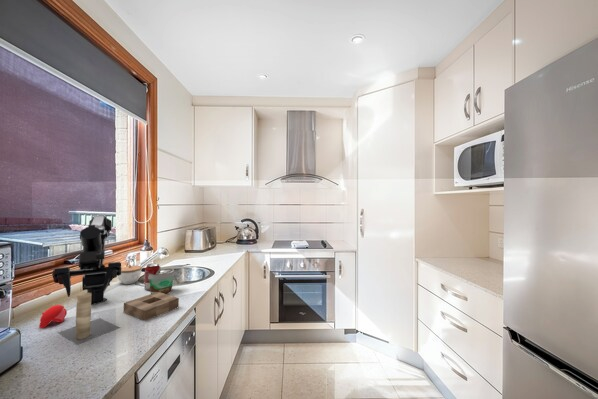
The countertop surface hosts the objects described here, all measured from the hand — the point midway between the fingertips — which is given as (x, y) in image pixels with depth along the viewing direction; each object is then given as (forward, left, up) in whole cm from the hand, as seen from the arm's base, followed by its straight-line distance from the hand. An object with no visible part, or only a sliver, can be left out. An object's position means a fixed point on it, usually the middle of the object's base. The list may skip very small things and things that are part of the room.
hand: (86, 293), depth 85 cm
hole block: (+4, +20, -12) cm, 24 cm away
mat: (+2, 0, -12) cm, 13 cm away
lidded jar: (-39, +35, -13) cm, 54 cm away
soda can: (-20, +35, -13) cm, 42 cm away
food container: (-9, +34, -13) cm, 38 cm away
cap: (-15, -4, -13) cm, 20 cm away
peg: (+5, -3, -12) cm, 13 cm away
